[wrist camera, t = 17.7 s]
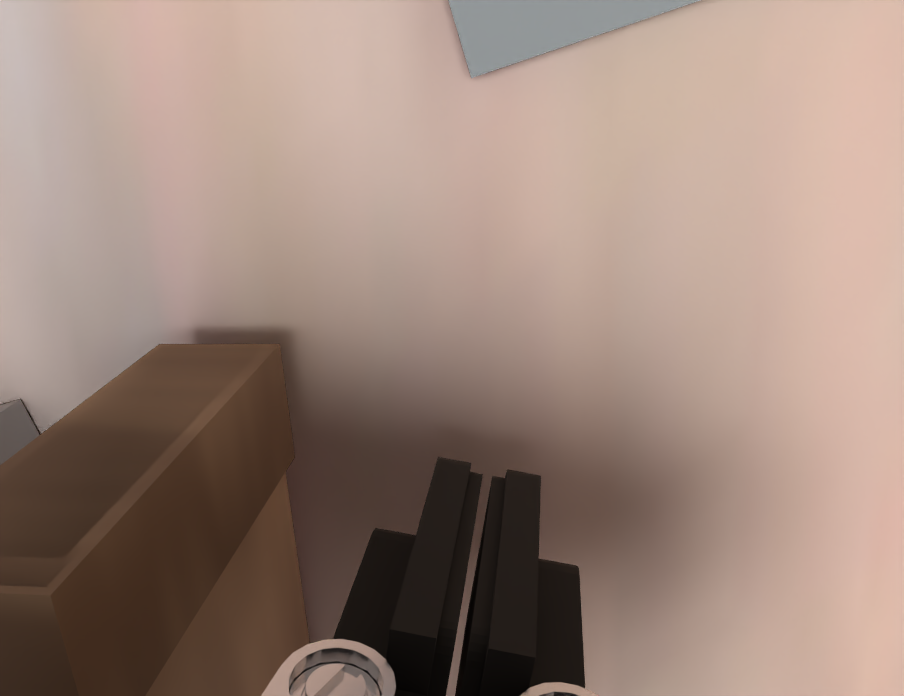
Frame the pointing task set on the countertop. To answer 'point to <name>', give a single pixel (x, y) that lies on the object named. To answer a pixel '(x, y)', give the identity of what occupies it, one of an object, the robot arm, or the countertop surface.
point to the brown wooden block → (155, 534)
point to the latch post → (15, 429)
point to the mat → (540, 26)
